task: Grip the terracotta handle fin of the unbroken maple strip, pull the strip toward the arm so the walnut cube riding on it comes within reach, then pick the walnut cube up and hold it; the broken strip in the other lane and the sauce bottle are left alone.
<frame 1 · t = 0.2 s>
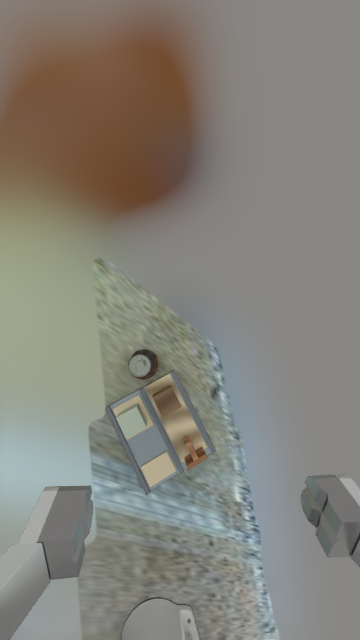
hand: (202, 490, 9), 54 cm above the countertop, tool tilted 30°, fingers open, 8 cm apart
sage block: (133, 416, 58), point 2 cm above the countertop, touching lane board
sauce bottle: (146, 363, 62), on the countertop
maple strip: (176, 419, 57), point 4 cm above the countertop, slide at 0.0 cm, touching walnut cube
lane board: (160, 428, 60), on the countertop
walnut cube: (166, 398, 59), point 2 cm above the countertop, touching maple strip
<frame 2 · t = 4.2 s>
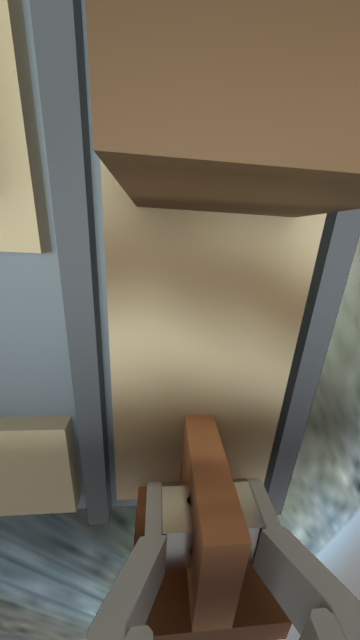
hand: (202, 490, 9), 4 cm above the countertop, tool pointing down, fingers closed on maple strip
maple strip: (224, 310, 7), point 4 cm above the countertop, slide at 0.0 cm, touching gripper, walnut cube
lane board: (93, 301, 10), on the countertop
walnut cube: (228, 112, 7), point 2 cm above the countertop, touching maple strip
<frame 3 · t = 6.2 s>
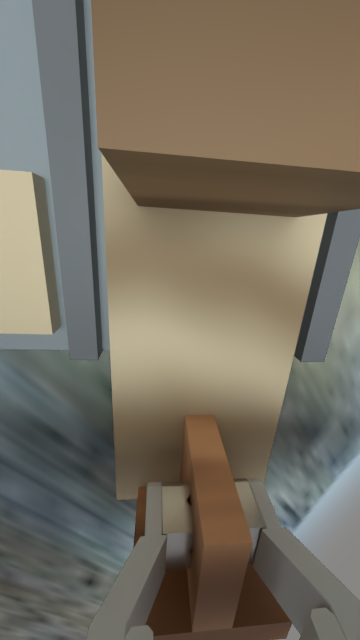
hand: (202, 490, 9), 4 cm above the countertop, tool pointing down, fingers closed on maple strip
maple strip: (225, 309, 7), point 4 cm above the countertop, slide at 9.2 cm, touching gripper, walnut cube
walnut cube: (230, 112, 7), point 2 cm above the countertop, touching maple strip
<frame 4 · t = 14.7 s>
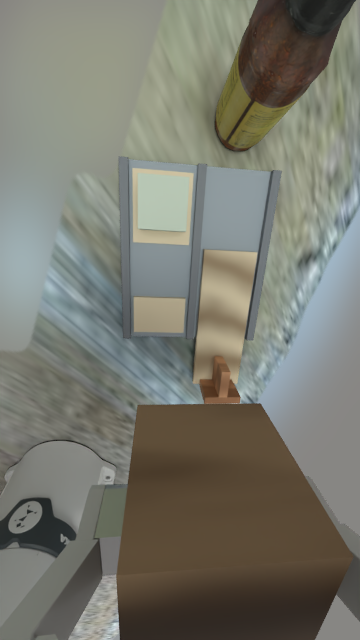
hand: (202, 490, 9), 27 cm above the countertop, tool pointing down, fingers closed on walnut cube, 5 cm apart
sage block: (162, 208, 29), point 2 cm above the countertop, touching lane board
sauce bottle: (237, 122, 28), on the countertop
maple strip: (225, 329, 32), point 4 cm above the countertop, slide at 9.4 cm
lane board: (193, 260, 33), on the countertop
walnut cube: (196, 451, 10), point 25 cm above the countertop, touching gripper
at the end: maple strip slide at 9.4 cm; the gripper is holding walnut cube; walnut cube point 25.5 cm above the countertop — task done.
